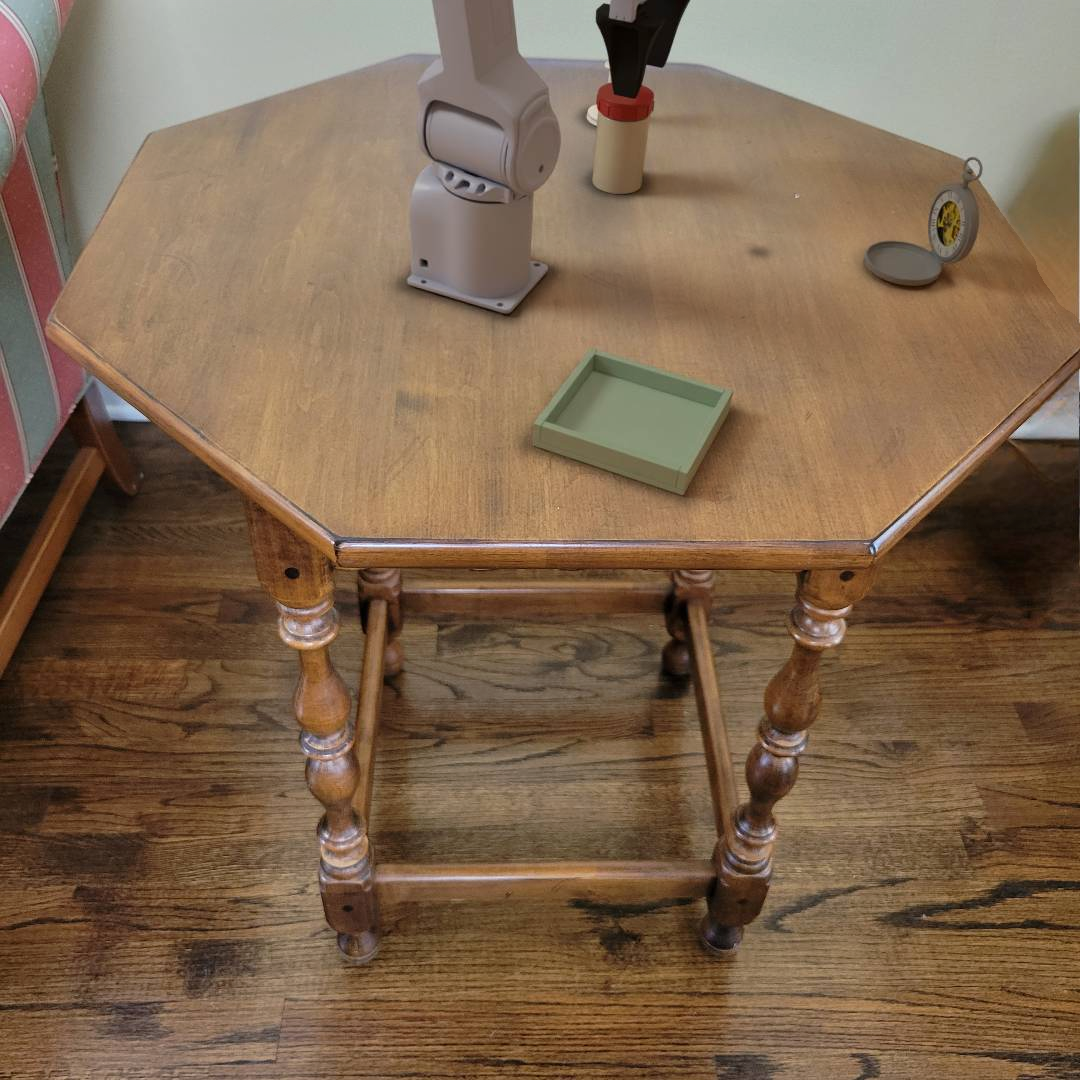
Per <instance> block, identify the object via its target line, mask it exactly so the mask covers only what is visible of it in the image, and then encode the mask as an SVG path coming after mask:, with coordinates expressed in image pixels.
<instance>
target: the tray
mask: <svg viewBox="0 0 1080 1080" xmlns="http://www.w3.org/2000/svg"><path fill="white" fill-rule="evenodd" d="M733 395H734V390H731V389H728V388H725V387H722V386H718V385H715V384H712V383H709V382H705V381H703V380H702V381H701V380H700V379H699V380H698V379H696V378H693V377H688V376H686V375H682V374H679V373H675V372H672V371H669V370H665V369H662V368H660V367H656V366H653V365H650V364H647V363H643V362H639V361H637V360H633V359H630V358H627V357H623V356H620V355H616V354H613V353H610V352H607V351H603V350H600V349H596V348H593V347H590V348H589V349H588V350H587V352H586V353H585V355H584V356H583V357H582V359H581V360H580V361H579V362H578V364H577V365H576V366H575V368H574V369H573V370H572V372H571V373H570V374H569V376H568V377H567V379H566V380H565V381H564V382H563V384H562V385H561V386H560V388H559V389H558V390H557V391H556V393H555V394H554V395H553V397H552V398H551V399H550V400H549V402H548V404H547V405H546V406H545V408H544V409H543V410H542V412H541V413H540V414H539V415H538V416H537V418H536V419H535V421H533V428H532V446H534V447H536V448H538V449H539V448H540V449H543V450H545V451H549V452H551V453H554V454H556V455H557V454H558V455H560V456H563V457H567V458H569V459H573V460H575V461H579V462H581V463H583V464H587V465H591V466H592V467H596V468H600V469H601V470H606V471H608V472H611V473H614V474H618V475H619V476H624V477H626V478H629V479H633V480H635V481H638V482H641V483H645V484H647V485H650V486H653V487H656V488H658V489H662V490H665V491H668V492H671V493H674V494H676V495H680V496H684V495H685V493H686V491H687V489H688V488H689V486H690V484H691V482H692V481H693V479H694V477H695V475H696V473H697V471H698V469H699V467H700V465H701V464H702V463H703V460H704V458H705V457H706V455H707V453H708V451H709V450H710V448H711V446H712V444H713V442H714V440H715V438H716V437H717V435H718V433H719V431H720V429H721V428H722V425H723V424H724V422H725V420H726V418H727V417H728V415H729V413H730V408H731V404H732V399H733Z"/></svg>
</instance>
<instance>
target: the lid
mask: <svg viewBox="0 0 1080 1080" xmlns="http://www.w3.org/2000/svg"><path fill="white" fill-rule="evenodd" d="M595 102H596V103H595V104H596V105H597V109H598V111H599V112H600V113H602V114H603V115H605V116H607V117H610V118H614V119H618V120H640V119H643V118H646V117H648V116H649V115H650V116H651V115H652V113H653V112H654V109H655V93H654V91H653V90H652V89H651V88H649V87H648V86H645V85H643V84H642V86H641V89H640V91H639V94H638V96H637V97H636V98H635V99H632V98H627V97H623V96H618V95H614V93H613V88H612V83H605V84H603V85H601V86H600V87H599V88H598V90H597V94H596V101H595Z"/></svg>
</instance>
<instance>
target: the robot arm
mask: <svg viewBox="0 0 1080 1080" xmlns="http://www.w3.org/2000/svg"><path fill="white" fill-rule="evenodd" d="M690 2H691V0H610V3H606V2H603V3H601V5H599V6H598V7H597V8H596V10H595V24H596V26H597V28H598V30H599V33H600V34H601V36H602V39H603V43H604V45H605V49H606V54H607V59H608V60H609V66H610V69H609V72H610V74H611V82H612V88H613V93H614V95H618V96H623V97H627V98H632V99H635V98H636V97H637V96H638V94H639V91H640V89H641V86H642V85H643V81H644V78H645V73H646V68H647V66H649V67H655V68H660V69H663V68H665V66H666V64H667V61H668V60H669V56H670V53H671V50H672V47H673V44H674V41H675V38H676V34H677V31H678V29H679V26H680V23H681V20H682V18H683V16H684V15H685V11H686V9H687V7H688V6H689V4H690ZM431 4H432V10H433V15H434V21H435V27H436V33H437V39H438V44H439V45H438V46H439V50H440V56H439V57H438V58H436V59H435V60H434V61H433V62H432V63H431V64H430V65H429V66H428V67H427V68H426V69H425V71H424V72H423V74H422V75H421V77H420V78H419V80H418V81H417V84H416V89H417V93H418V94H417V95H418V100H419V101H418V102H419V109H418V110H419V111H418V116H417V127H416V128H417V139H418V145H419V147H420V150H421V152H422V153H423V155H424V156H425V157H426V158H427V159H429V160H430V161H431V162H432V161H433V163H430V164H428V165H426V166H425V167H424V168H423V169H422V170H421V172H420V173H419V175H418V176H417V178H416V180H415V183H414V185H413V188H412V190H411V195H410V200H409V212H408V214H409V215H408V216H409V217H408V218H409V241H410V242H409V243H410V264H411V265H410V266H411V274H410V275H409V276H408V277H407V279H406V281H407V284H408V285H409V286H411V287H414V288H419V289H421V290H423V291H428V292H430V293H435V294H438V295H441V296H444V297H448V298H451V299H454V300H458V301H461V302H465V303H468V304H471V305H474V306H477V307H481V308H485V309H488V310H491V311H495V312H497V313H501V314H504V315H506V314H507V315H508V314H510V313H512V312H513V311H514V310H515V308H516V307H518V305H519V304H520V303H521V302H522V300H523V299H524V298H525V297H526V296H527V295H528V294H529V293H530V292H531V291H532V290H533V288H534V287H535V286H537V284H538V283H539V282H540V280H541V279H543V277H544V276H545V275H546V274H547V272H548V271H549V266H548V264H545V263H543V262H539V261H536V260H532V239H533V238H532V237H533V219H534V218H533V216H534V215H533V214H534V196H535V192H537V191H538V190H539V189H540V188H541V187H542V186H544V185H545V183H546V182H547V181H548V180H549V178H550V177H551V175H552V174H553V172H554V170H555V167H556V165H557V163H558V159H559V156H560V151H561V144H562V134H561V128H560V124H559V119H558V117H557V115H556V113H555V112H554V110H553V108H552V105H551V100H550V90H549V86H548V85H547V83H546V82H545V81H544V80H543V78H542V77H541V76H540V75H539V74H538V72H536V70H535V69H534V68H533V67H532V66H531V65H530V64H529V62H527V60H526V59H525V58H524V57H523V56H522V55H521V52H520V51H519V45H518V36H517V35H518V34H517V28H516V26H517V25H516V18H515V17H516V16H515V7H514V0H431ZM608 60H607V61H608Z"/></svg>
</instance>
